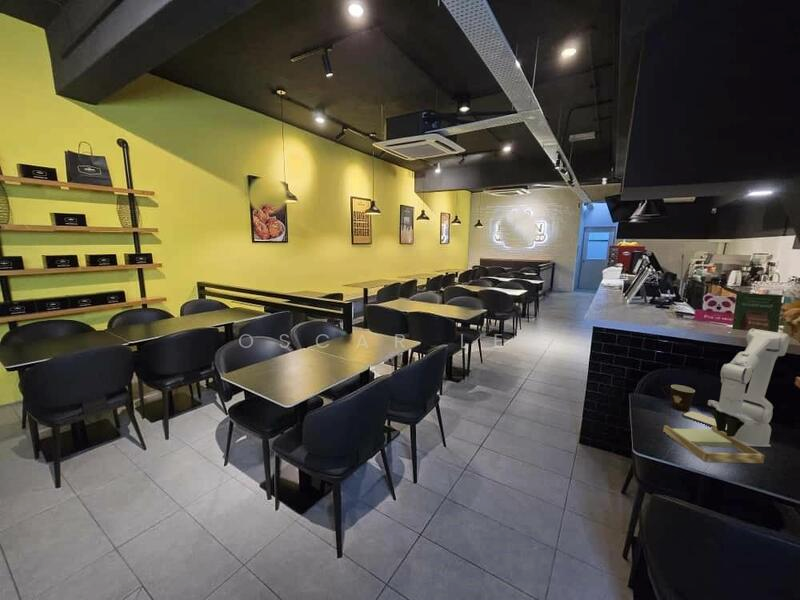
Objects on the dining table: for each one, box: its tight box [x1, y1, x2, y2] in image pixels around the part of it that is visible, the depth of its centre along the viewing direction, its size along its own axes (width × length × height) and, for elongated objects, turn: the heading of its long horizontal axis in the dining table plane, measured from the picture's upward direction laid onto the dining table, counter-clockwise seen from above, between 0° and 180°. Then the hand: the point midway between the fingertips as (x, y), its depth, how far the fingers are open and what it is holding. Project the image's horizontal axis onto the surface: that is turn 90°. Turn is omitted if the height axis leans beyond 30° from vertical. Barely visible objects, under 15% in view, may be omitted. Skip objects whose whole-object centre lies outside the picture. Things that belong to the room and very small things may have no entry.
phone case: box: [681, 410, 727, 433], centre depth 141 cm, size 9×2×16 cm
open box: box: [662, 424, 766, 464], centre depth 123 cm, size 20×19×3 cm
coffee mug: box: [661, 384, 696, 413], centre depth 154 cm, size 12×9×10 cm
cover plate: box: [672, 428, 732, 448], centre depth 128 cm, size 16×9×2 cm, turn 89°
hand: (725, 433), depth 117 cm, fingers open, 3 cm apart
